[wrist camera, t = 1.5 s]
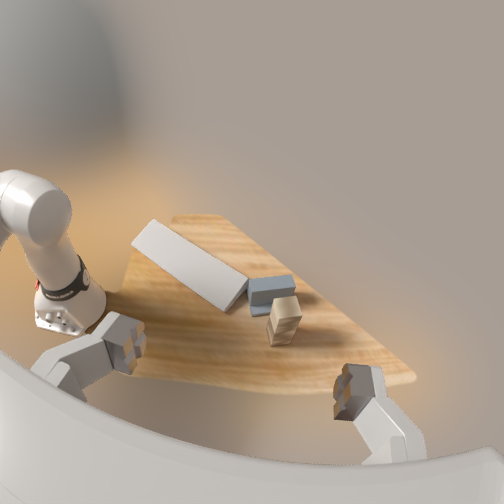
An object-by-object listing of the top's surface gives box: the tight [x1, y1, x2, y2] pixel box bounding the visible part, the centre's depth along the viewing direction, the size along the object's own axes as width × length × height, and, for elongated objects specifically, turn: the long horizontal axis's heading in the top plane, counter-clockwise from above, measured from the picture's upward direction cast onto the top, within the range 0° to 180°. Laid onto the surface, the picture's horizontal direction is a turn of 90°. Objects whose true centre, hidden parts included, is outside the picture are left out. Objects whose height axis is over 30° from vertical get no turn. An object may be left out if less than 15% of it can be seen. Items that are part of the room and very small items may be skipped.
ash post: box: [267, 296, 302, 346], centre depth 58 cm, size 4×4×13 cm
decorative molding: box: [131, 219, 249, 313], centre depth 74 cm, size 34×5×10 cm
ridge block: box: [246, 275, 296, 316], centre depth 67 cm, size 10×8×7 cm
